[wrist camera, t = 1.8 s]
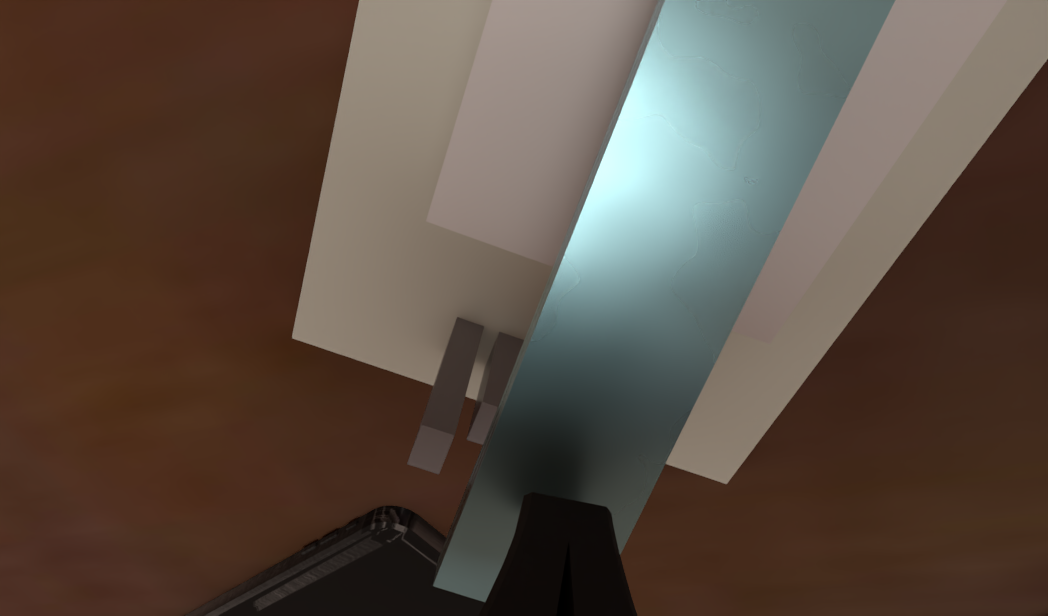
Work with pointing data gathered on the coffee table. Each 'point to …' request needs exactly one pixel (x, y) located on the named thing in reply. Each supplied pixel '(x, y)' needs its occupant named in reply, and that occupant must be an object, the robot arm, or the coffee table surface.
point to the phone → (354, 575)
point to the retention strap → (659, 258)
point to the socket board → (464, 275)
